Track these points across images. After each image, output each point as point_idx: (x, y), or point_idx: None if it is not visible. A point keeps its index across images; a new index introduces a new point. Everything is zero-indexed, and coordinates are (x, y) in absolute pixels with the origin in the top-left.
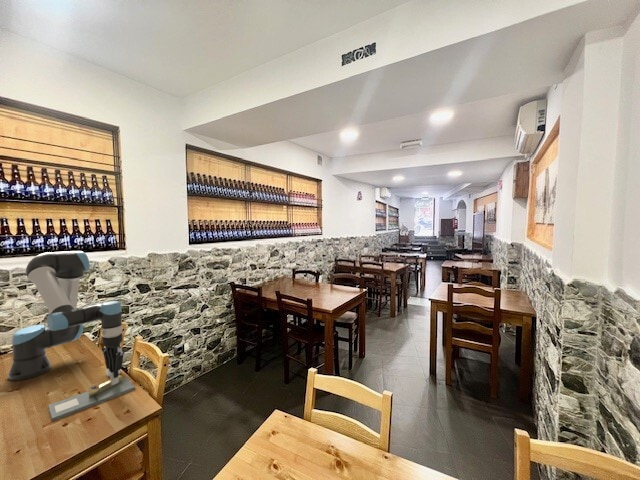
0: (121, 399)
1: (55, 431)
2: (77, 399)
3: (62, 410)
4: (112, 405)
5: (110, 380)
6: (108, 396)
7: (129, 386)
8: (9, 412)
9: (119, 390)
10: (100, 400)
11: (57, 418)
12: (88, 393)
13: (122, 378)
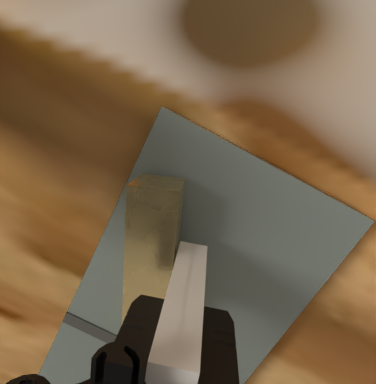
0: (352, 325)
1: None
2: None
3: None
4: (342, 377)
5: (140, 288)
6: (261, 351)
7: (317, 226)
8: None
9: (279, 285)
10: (242, 381)
11: None
12: (90, 345)
13: (183, 187)
